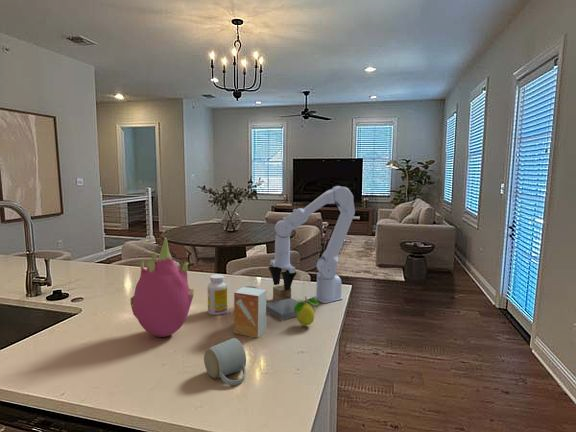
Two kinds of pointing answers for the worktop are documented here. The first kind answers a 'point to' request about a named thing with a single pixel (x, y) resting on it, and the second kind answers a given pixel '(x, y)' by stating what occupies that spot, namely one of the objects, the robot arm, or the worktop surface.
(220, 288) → the supplement bottle
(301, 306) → the lemon
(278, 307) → the slate tile
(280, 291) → the walnut block
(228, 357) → the ceramic mug
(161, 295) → the pink dragon fruit
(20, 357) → the worktop surface
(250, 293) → the small box
